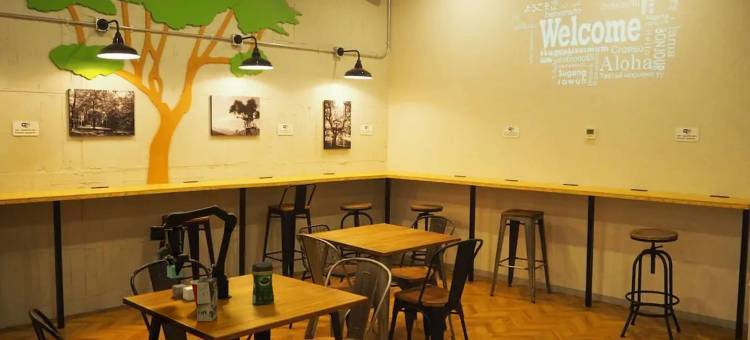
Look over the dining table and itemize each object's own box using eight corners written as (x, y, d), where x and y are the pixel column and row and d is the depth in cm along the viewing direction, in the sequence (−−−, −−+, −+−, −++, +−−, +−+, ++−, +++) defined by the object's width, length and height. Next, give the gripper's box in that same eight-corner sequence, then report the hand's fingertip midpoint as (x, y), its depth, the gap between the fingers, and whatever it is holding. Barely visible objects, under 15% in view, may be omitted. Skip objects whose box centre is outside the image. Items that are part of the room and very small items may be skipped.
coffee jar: (271, 299, 312) (271, 259, 311) (275, 304, 304) (275, 263, 303) (250, 302, 308) (249, 261, 307) (254, 306, 301) (253, 264, 300)
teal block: (182, 276, 310) (182, 266, 310) (171, 278, 307) (171, 267, 306) (177, 275, 314) (177, 264, 313) (167, 276, 310) (167, 265, 310)
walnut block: (187, 296, 318) (187, 286, 318) (177, 298, 315) (176, 287, 315) (182, 294, 322) (182, 284, 322) (172, 296, 319) (172, 285, 319)
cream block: (198, 298, 314) (197, 288, 314) (187, 300, 311) (187, 289, 311) (193, 296, 318) (193, 286, 318) (183, 298, 315) (183, 287, 315)
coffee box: (212, 321, 278) (212, 282, 277) (197, 321, 278) (196, 282, 277) (218, 315, 287) (217, 277, 286) (203, 315, 287) (202, 277, 286)
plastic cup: (220, 305, 302) (220, 279, 301) (207, 312, 291) (206, 284, 291) (199, 303, 305) (199, 277, 304) (185, 309, 295) (185, 282, 294)
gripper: (148, 239, 311) (149, 273, 312) (165, 245, 297) (166, 280, 298) (171, 237, 318) (172, 270, 319) (189, 242, 304) (190, 276, 305)
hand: (174, 274), depth 310 cm, fingers closed on teal block, 5 cm apart
